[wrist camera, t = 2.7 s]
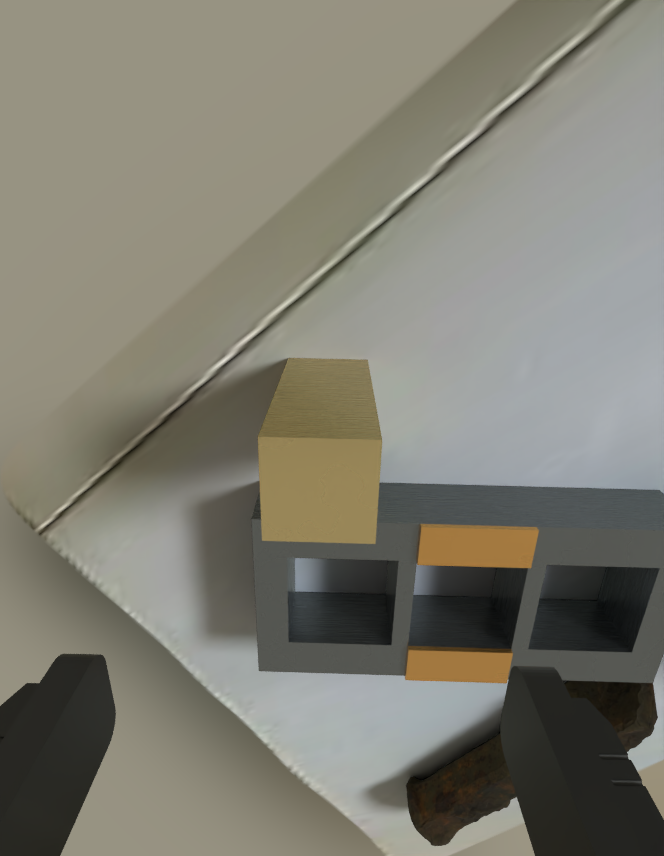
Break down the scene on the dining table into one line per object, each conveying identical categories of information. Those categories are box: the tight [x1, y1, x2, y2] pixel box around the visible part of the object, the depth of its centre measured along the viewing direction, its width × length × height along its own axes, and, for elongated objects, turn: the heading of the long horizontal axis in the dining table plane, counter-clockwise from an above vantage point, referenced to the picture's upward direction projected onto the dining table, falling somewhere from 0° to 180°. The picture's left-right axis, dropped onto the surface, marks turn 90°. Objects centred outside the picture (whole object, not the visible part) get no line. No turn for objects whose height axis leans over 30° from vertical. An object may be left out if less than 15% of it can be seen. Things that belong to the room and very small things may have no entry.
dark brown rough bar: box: [406, 681, 658, 846], centre depth 33 cm, size 19×4×5 cm, turn 135°
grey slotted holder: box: [251, 483, 664, 683], centre depth 28 cm, size 10×22×4 cm, turn 89°
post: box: [258, 358, 382, 544], centre depth 22 cm, size 4×4×10 cm
